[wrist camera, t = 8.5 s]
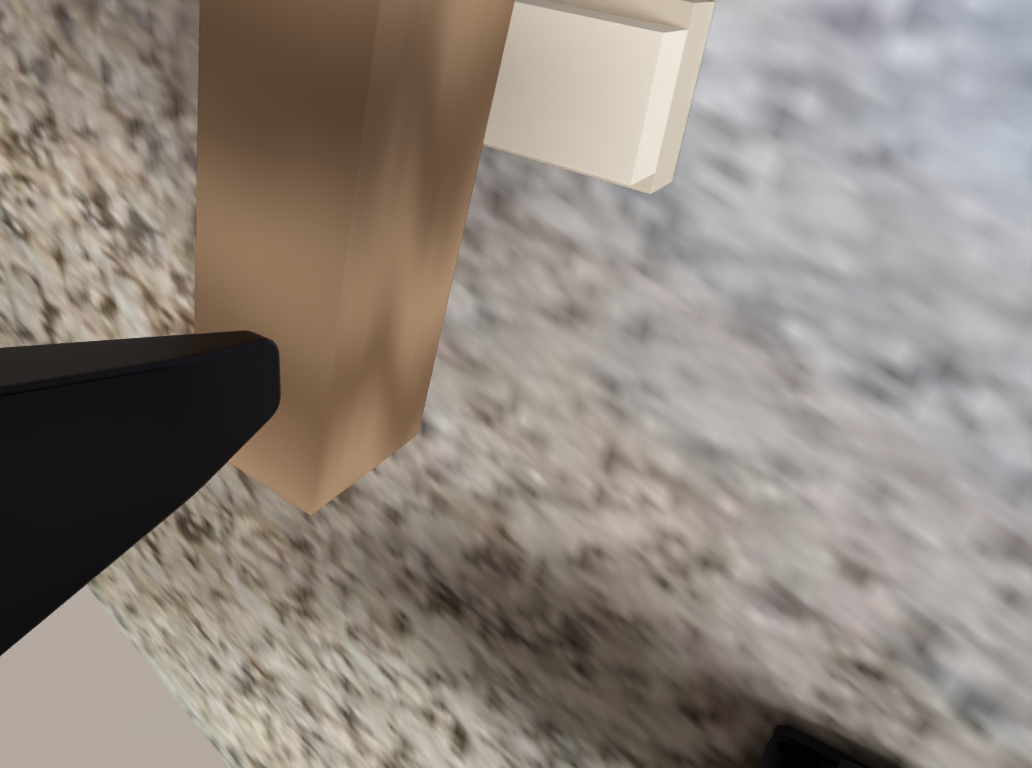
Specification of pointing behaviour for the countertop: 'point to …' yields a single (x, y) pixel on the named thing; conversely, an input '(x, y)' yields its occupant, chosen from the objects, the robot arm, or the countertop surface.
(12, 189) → the countertop surface
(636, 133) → the stepped block
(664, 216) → the countertop surface
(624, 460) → the countertop surface
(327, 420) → the walnut bar
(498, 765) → the countertop surface
